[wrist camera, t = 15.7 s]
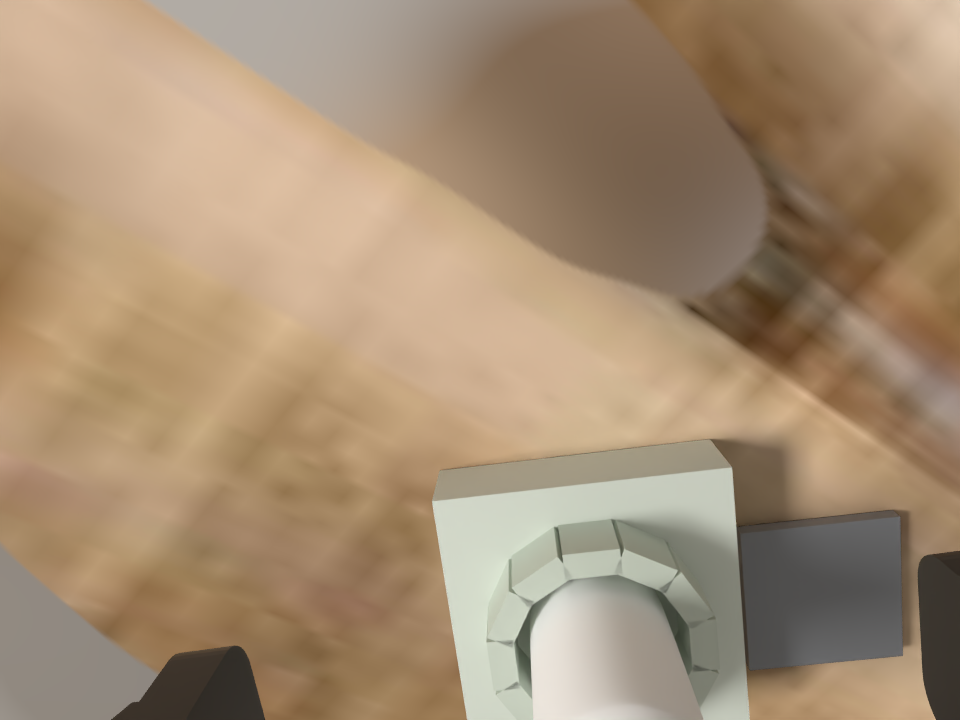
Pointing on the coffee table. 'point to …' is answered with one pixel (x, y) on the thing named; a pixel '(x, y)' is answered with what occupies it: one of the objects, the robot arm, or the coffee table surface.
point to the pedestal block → (592, 561)
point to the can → (606, 655)
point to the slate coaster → (821, 590)
